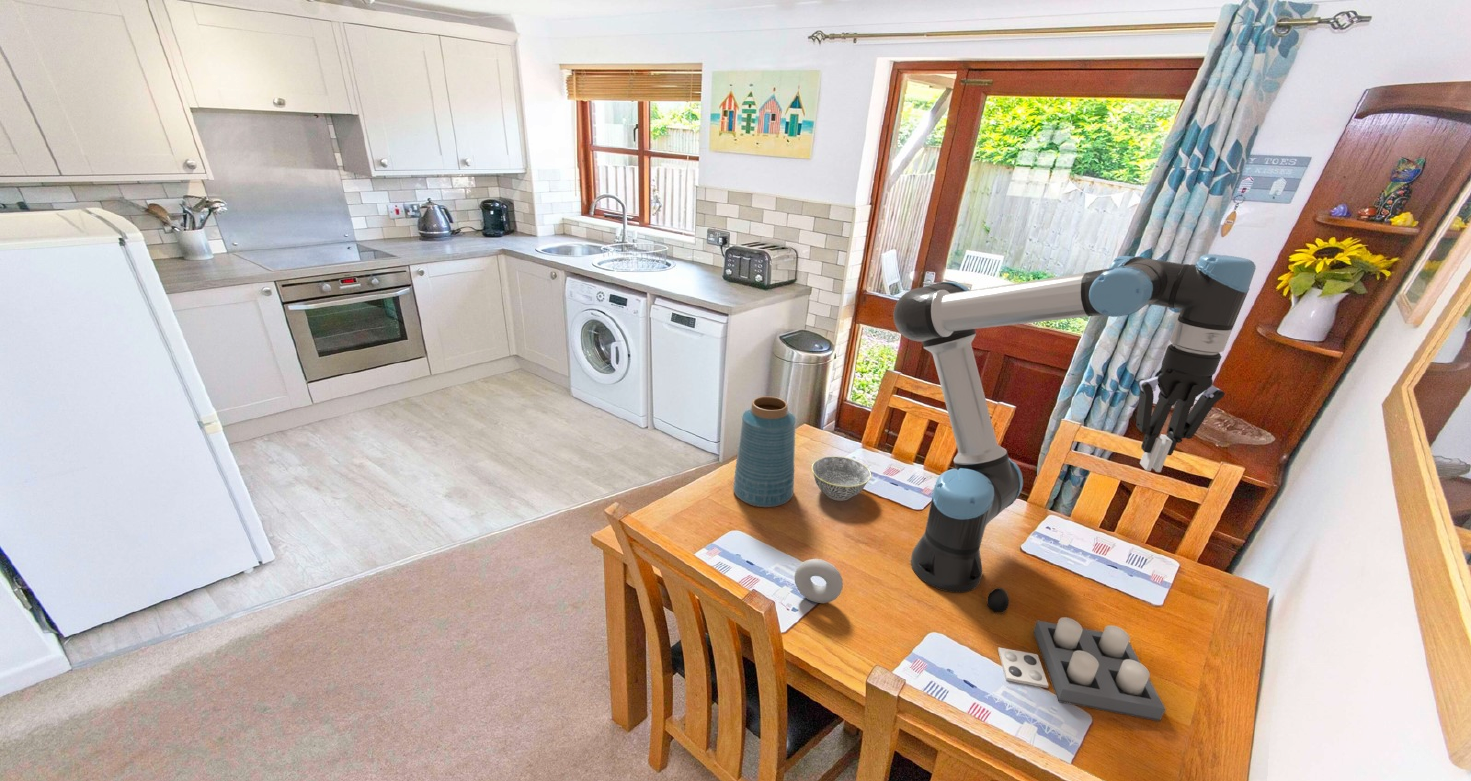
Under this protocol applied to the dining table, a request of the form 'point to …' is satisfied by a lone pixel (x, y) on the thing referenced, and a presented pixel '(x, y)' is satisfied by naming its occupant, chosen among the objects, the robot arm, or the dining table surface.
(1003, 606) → the egg
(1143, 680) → the button
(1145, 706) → the board
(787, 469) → the vase
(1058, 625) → the button
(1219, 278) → the robot arm
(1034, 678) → the card
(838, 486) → the bowl
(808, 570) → the donut
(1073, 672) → the button
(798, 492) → the dining table surface
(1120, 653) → the button
